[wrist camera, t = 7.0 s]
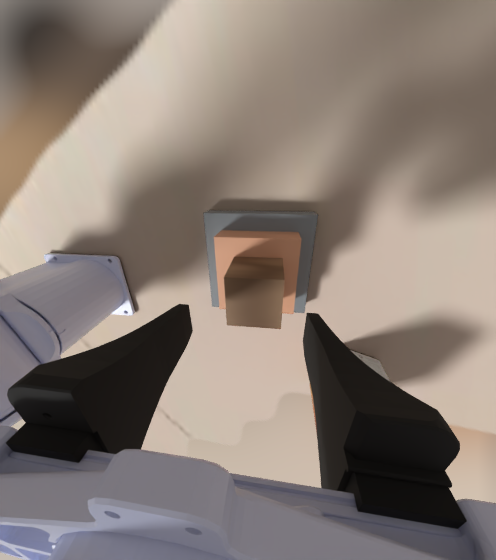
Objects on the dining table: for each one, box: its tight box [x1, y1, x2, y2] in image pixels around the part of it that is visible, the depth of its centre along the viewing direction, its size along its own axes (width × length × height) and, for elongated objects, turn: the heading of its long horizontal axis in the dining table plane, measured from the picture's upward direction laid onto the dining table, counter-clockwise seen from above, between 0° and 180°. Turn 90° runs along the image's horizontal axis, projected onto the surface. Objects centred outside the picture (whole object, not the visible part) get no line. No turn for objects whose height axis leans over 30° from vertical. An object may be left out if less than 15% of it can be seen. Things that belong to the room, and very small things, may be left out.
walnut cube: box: [224, 257, 285, 329], centre depth 16 cm, size 4×4×4 cm
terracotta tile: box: [214, 230, 301, 314], centre depth 19 cm, size 7×7×2 cm
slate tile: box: [203, 210, 318, 313], centre depth 21 cm, size 10×10×2 cm
